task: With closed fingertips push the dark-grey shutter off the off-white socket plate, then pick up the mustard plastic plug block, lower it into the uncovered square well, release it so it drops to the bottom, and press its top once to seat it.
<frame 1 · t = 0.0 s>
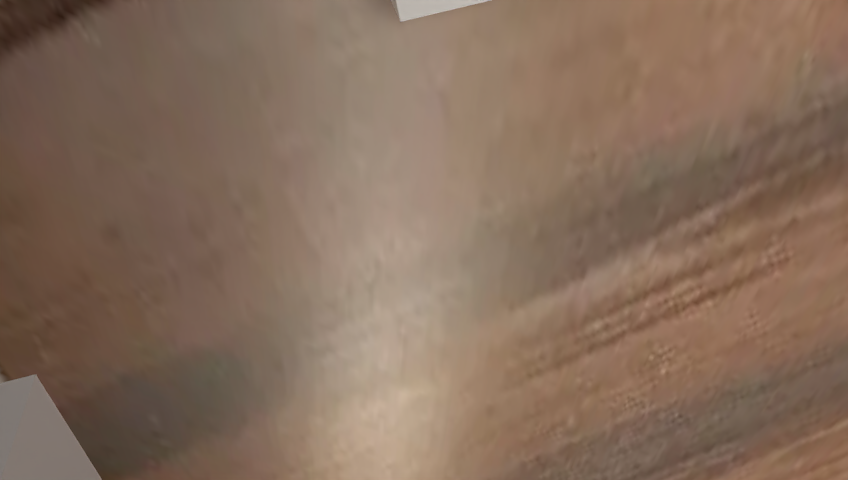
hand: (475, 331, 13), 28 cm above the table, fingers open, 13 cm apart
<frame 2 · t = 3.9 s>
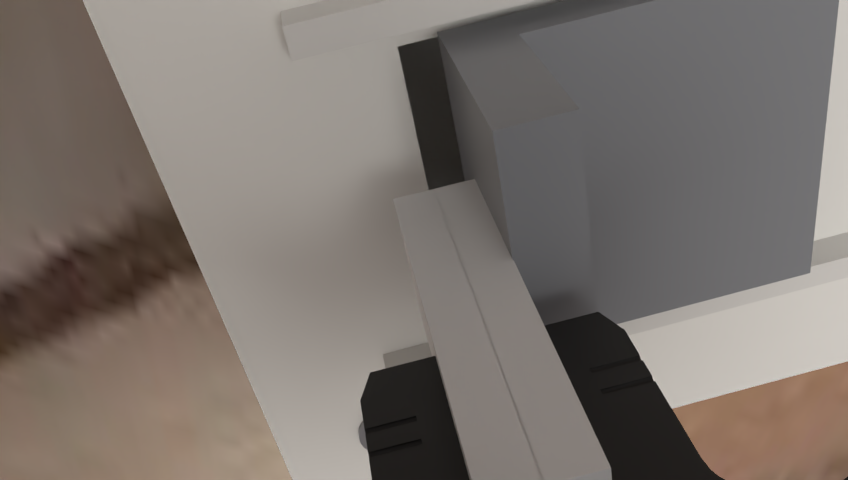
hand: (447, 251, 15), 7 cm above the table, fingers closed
shutter: (676, 204, 14), point 7 cm above the table, slide at 0.9 cm, touching gripper
socket: (518, 67, 20), on the table
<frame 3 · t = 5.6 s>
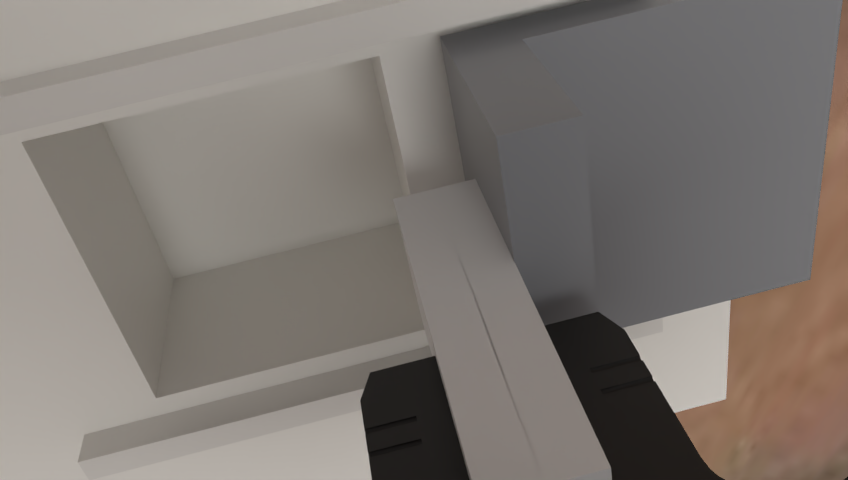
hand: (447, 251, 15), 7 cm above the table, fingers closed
shutter: (677, 210, 14), point 7 cm above the table, slide at 7.7 cm, touching gripper
socket: (256, 135, 20), on the table
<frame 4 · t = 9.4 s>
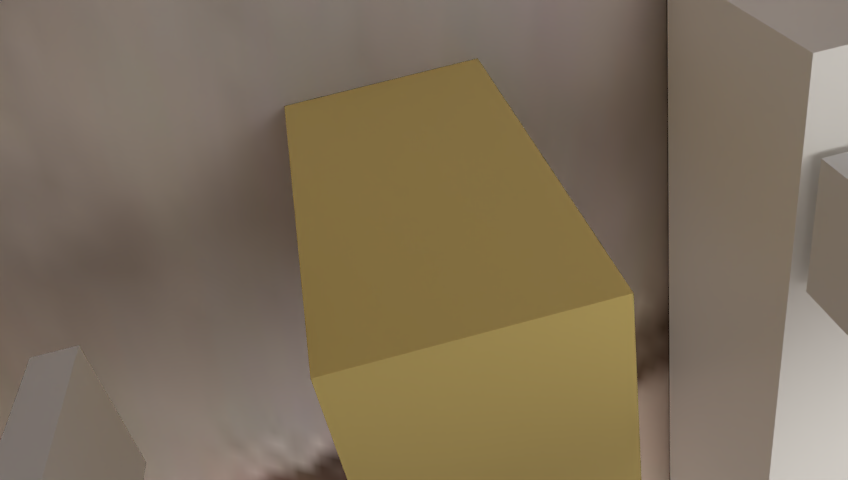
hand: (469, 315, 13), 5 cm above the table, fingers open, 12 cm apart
plug: (400, 167, 17), on the table
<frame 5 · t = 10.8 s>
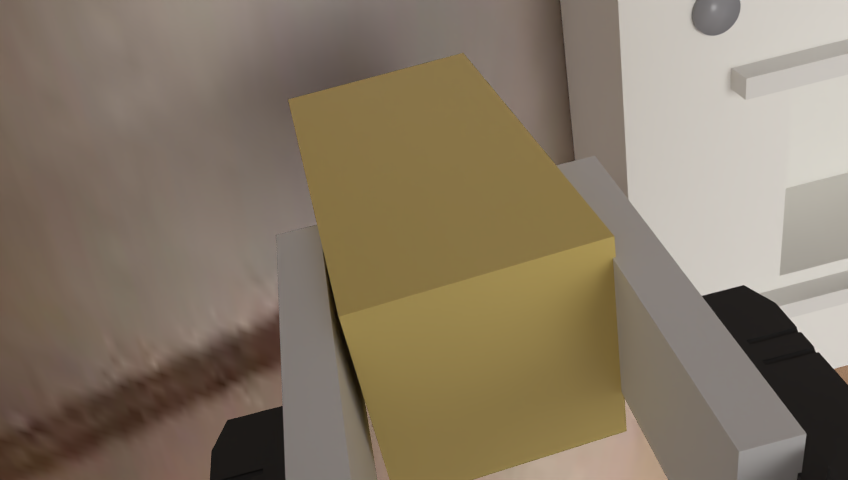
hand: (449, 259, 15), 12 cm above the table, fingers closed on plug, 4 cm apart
socket: (794, 100, 28), on the table
plug: (394, 155, 19), point 7 cm above the table, touching gripper
when the fingers open (7 cm above the table, at t = 13.5 s): plug drops 1 cm, resting on socket.
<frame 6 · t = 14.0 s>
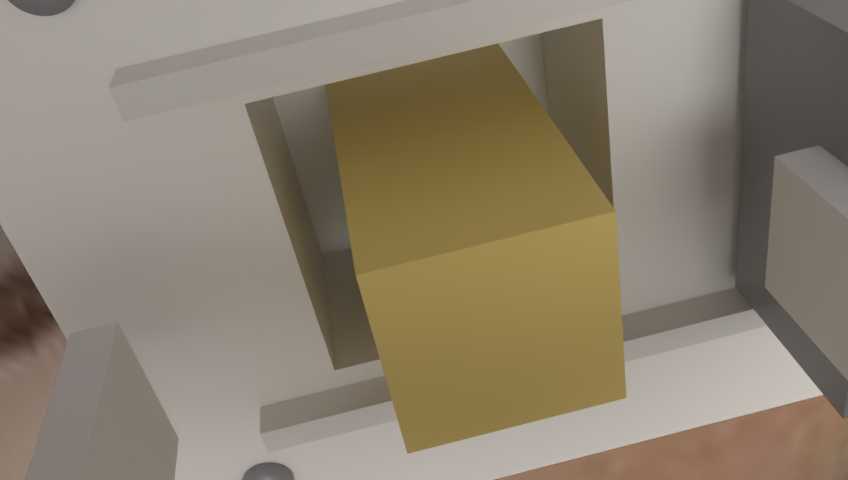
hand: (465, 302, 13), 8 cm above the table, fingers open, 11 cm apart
socket: (415, 109, 20), on the table
plug: (424, 131, 20), resting on socket
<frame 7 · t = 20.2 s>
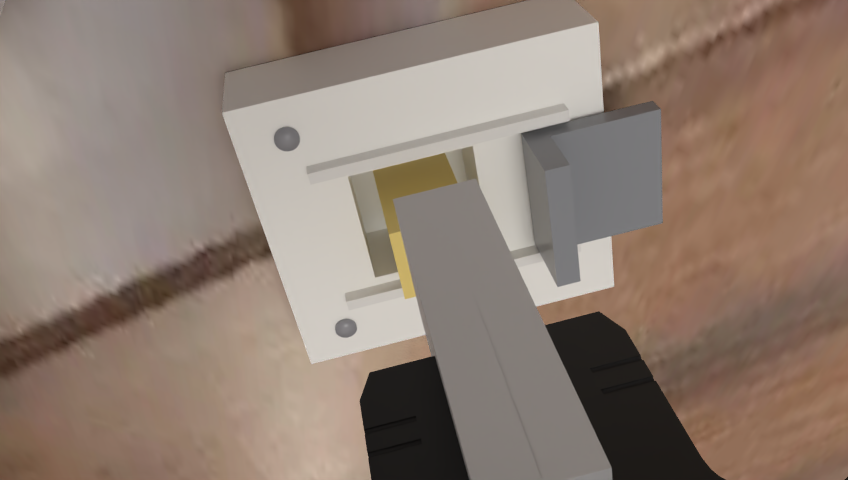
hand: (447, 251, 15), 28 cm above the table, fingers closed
shutter: (604, 194, 40), point 7 cm above the table, slide at 9.0 cm
socket: (407, 169, 46), on the table
plug: (411, 179, 46), resting on socket
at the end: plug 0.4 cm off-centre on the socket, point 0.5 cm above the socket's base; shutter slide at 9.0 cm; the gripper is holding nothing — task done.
